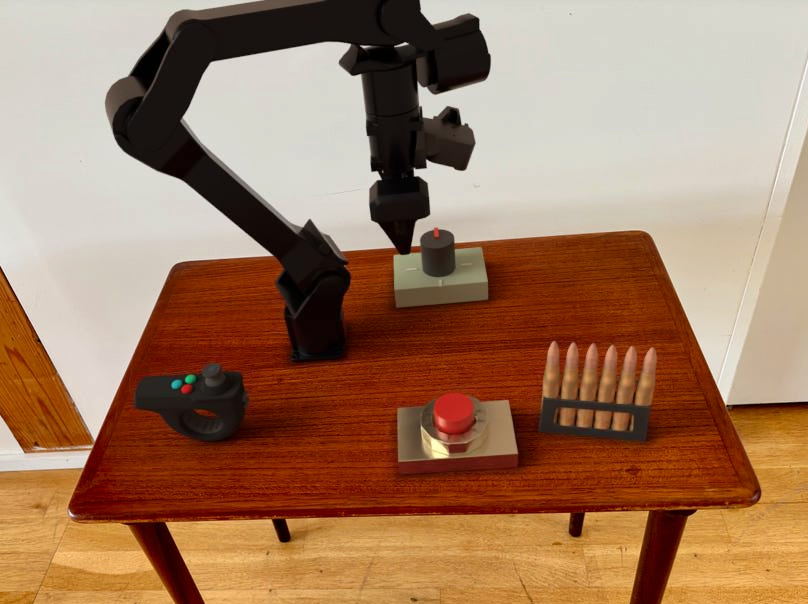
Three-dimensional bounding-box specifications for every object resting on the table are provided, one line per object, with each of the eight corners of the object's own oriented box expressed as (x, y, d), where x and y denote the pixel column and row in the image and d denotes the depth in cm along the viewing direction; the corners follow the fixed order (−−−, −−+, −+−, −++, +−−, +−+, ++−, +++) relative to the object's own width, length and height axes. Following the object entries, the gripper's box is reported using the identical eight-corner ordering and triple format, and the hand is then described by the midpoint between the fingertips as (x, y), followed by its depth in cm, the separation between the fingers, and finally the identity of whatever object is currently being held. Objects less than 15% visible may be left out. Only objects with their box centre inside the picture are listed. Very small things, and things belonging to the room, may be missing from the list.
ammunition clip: (645, 428, 74) (663, 341, 66) (646, 441, 72) (664, 355, 64) (539, 418, 76) (544, 334, 68) (538, 431, 75) (543, 346, 67)
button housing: (400, 475, 73) (396, 449, 70) (398, 421, 79) (395, 396, 76) (518, 467, 72) (518, 441, 69) (508, 413, 78) (508, 387, 75)
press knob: (435, 436, 72) (434, 422, 70) (433, 407, 75) (432, 393, 73) (475, 433, 71) (475, 419, 70) (472, 404, 74) (471, 391, 73)
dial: (457, 275, 92) (455, 244, 89) (423, 278, 93) (420, 247, 89) (454, 256, 95) (452, 225, 92) (421, 259, 96) (418, 228, 93)
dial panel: (396, 309, 93) (394, 290, 91) (395, 271, 100) (393, 252, 98) (488, 301, 92) (488, 281, 90) (481, 263, 99) (481, 244, 97)
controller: (254, 447, 78) (232, 382, 72) (149, 448, 80) (117, 385, 74) (262, 418, 82) (241, 354, 75) (161, 420, 83) (131, 357, 77)
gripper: (478, 136, 67) (480, 271, 77) (461, 64, 81) (464, 187, 91) (361, 148, 68) (378, 281, 78) (364, 75, 82) (378, 196, 92)
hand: (404, 232), depth 85 cm, fingers open, 9 cm apart
